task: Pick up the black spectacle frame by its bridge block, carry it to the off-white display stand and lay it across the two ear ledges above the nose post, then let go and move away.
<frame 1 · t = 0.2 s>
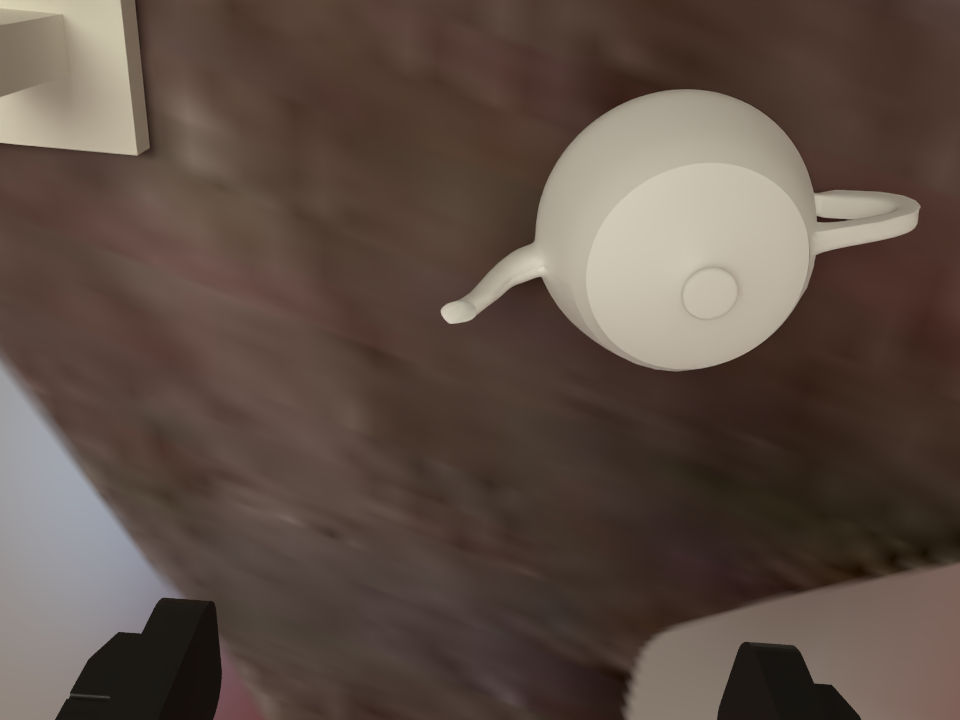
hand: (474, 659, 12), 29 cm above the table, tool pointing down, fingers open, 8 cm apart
teapot: (649, 213, 39), on the table
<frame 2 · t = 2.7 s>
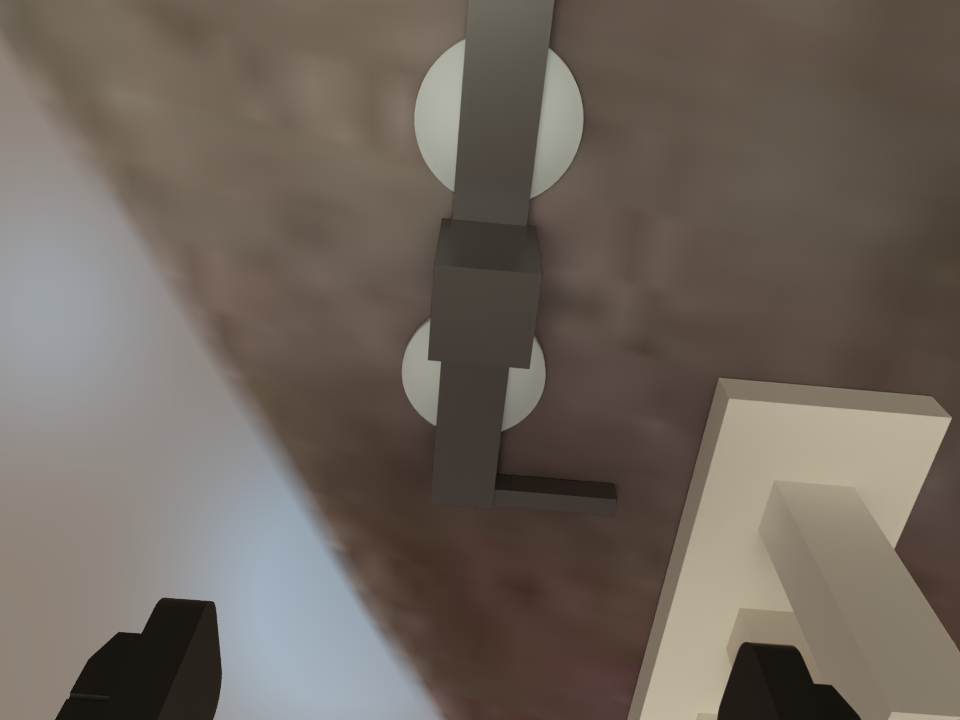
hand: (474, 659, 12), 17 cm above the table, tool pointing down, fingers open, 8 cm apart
spectacle frame: (485, 253, 27), on the table
display stand: (750, 604, 35), on the table
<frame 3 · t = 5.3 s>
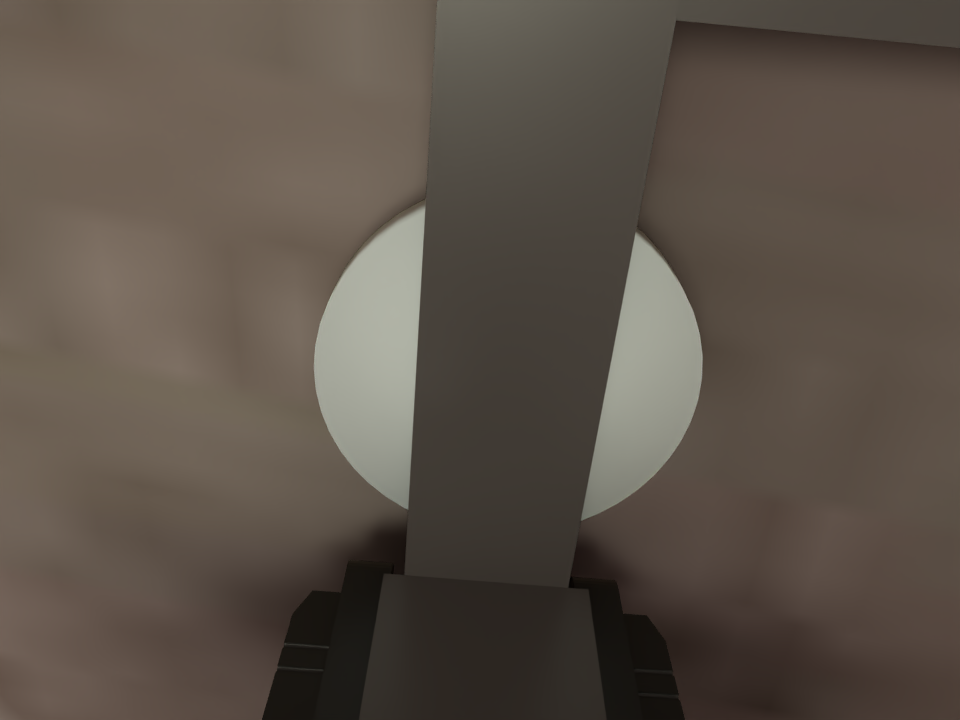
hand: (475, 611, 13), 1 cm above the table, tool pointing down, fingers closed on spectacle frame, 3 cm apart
spectacle frame: (478, 596, 13), point 1 cm above the table, touching gripper
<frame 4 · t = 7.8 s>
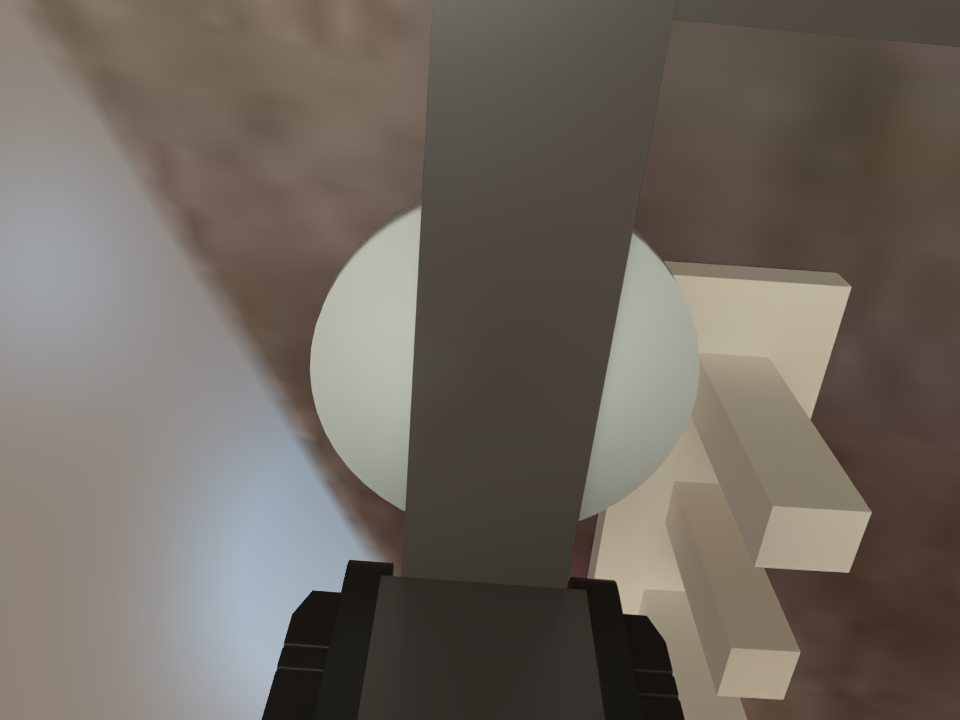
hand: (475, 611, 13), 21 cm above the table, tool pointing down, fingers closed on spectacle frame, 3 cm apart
spectacle frame: (476, 597, 13), point 21 cm above the table, touching gripper
display stand: (688, 484, 38), on the table
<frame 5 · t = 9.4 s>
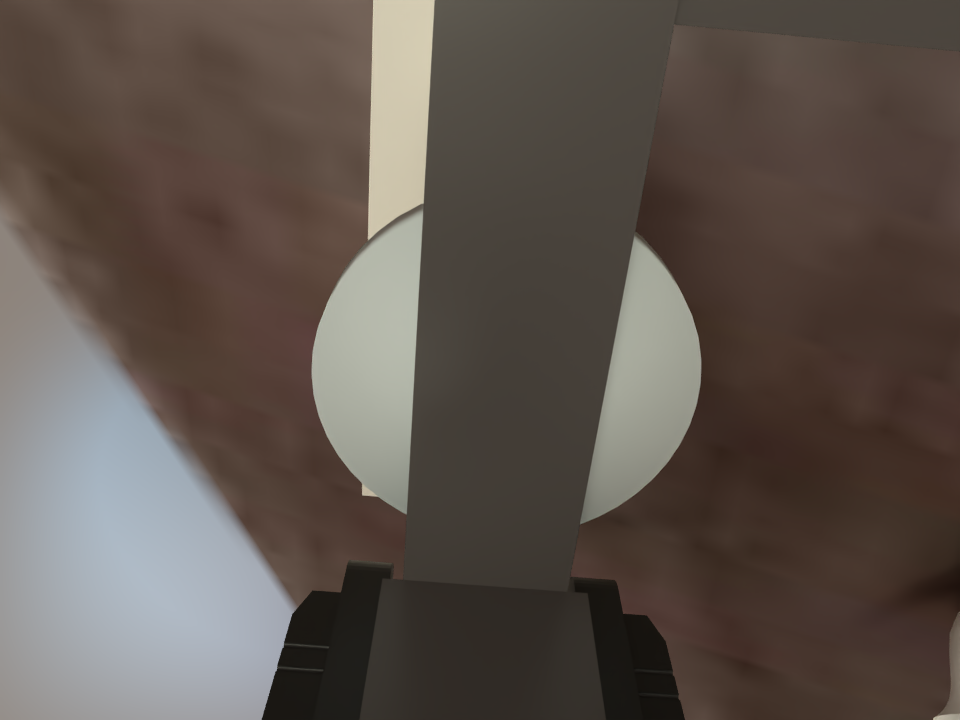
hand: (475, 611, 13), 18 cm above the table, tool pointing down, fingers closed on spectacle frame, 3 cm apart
spectacle frame: (477, 599, 13), point 18 cm above the table, touching gripper
display stand: (483, 237, 29), on the table
when the fingers open (14 cm above the table, at t = 10.8 s): spectacle frame drops 2 cm, resting on display stand.
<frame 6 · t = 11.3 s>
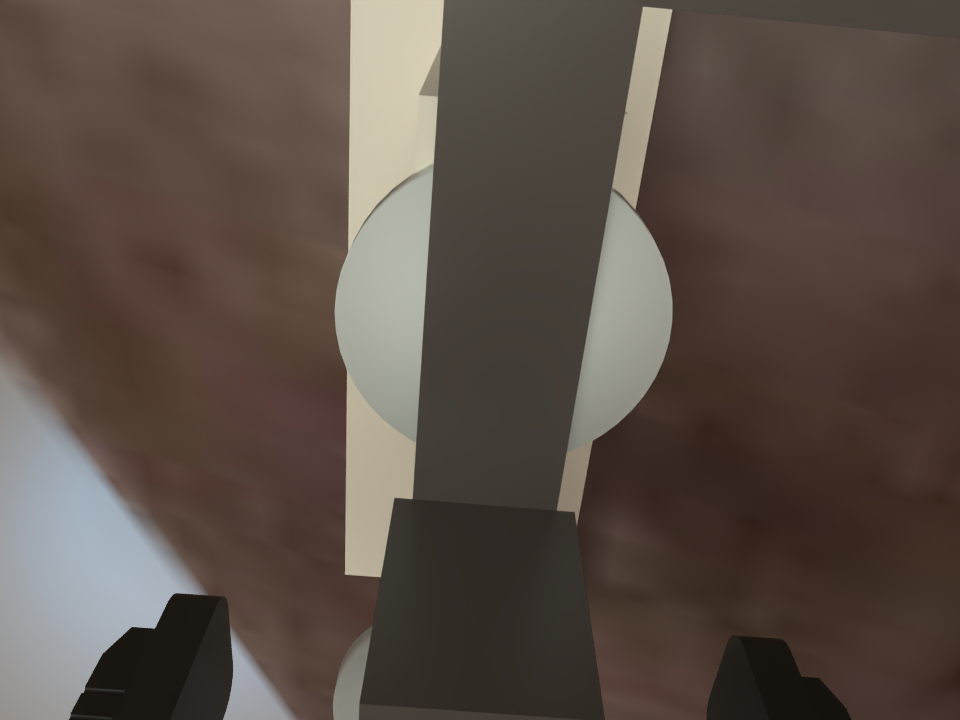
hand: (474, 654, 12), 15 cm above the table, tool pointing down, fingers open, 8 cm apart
spectacle frame: (477, 527, 15), point 11 cm above the table, touching display stand
display stand: (482, 287, 25), on the table
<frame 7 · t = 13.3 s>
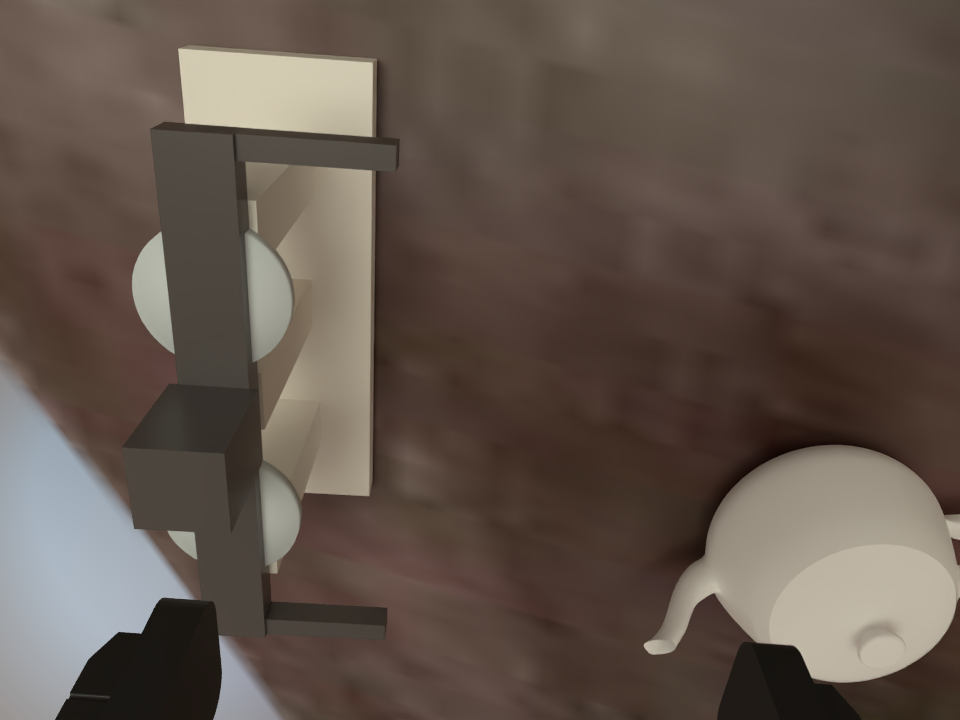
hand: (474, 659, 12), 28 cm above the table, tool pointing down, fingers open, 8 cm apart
spectacle frame: (226, 407, 29), point 11 cm above the table, touching display stand
display stand: (292, 290, 39), on the table
teapot: (793, 515, 46), on the table
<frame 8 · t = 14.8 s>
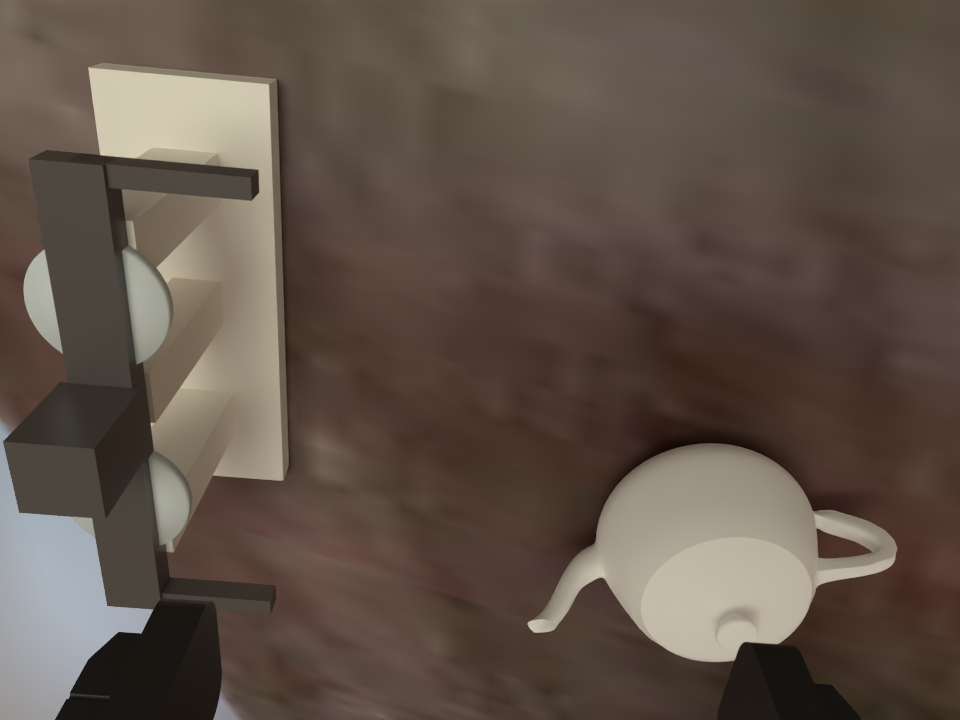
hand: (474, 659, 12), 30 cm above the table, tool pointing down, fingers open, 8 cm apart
spectacle frame: (118, 402, 32), point 11 cm above the table, touching display stand
display stand: (207, 289, 42), on the table
teapot: (683, 506, 49), on the table
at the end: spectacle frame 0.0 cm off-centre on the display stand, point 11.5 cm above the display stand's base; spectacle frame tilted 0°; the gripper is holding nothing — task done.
